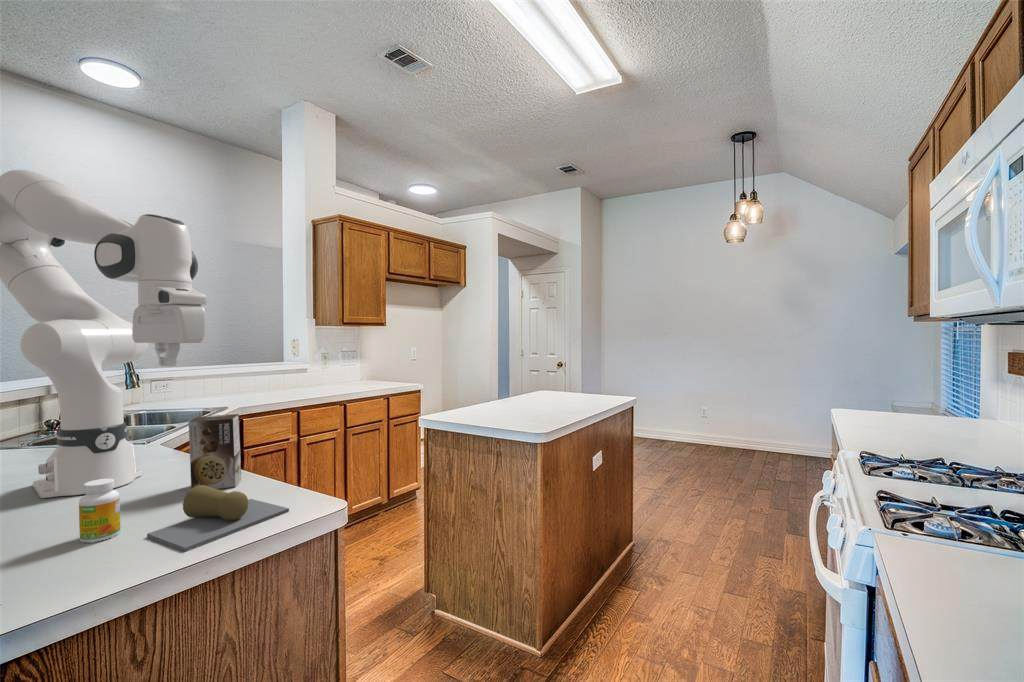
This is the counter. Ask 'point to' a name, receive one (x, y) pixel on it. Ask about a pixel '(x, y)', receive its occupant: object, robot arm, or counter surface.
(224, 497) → the cork
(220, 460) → the coffee box
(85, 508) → the supplement bottle
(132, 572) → the counter surface
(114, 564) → the counter surface
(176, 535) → the rubber mat
